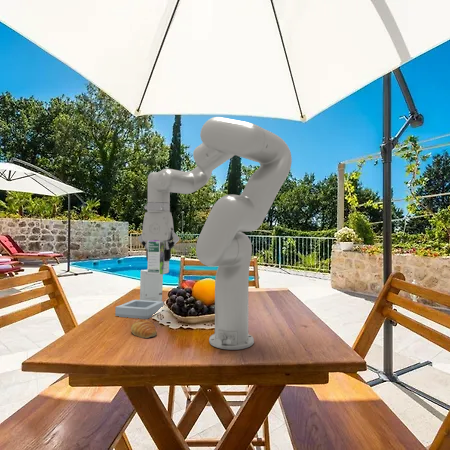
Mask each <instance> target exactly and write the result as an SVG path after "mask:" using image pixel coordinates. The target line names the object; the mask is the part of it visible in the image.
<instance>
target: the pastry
mask: <svg viewBox="0 0 450 450" xmlns="http://www.w3.org/2000/svg"><path fill="white" fill-rule="evenodd" d="M130 329H131V330H130V331H131V333H132V334H133V335H134V336H135V337H137V336H138V337H137V338H142V339H149V338H152V337H156V335H157V332H158V331H157V328H156V325H155V324H154V323H153V322H152V321H150V320H147V319H138V320H136V321H134V322H133V323H132V325H131V327H130Z"/></svg>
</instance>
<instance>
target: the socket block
mask: <svg viewBox="0 0 450 450" xmlns="http://www.w3.org/2000/svg"><path fill="white" fill-rule="evenodd" d="M164 305H165V301H163V300H162V301H147V300H140V299H132V300H129V301H128V302H124V303H123V304H119V305H116V306H115V315H114V316H119V317H118V318H127V317H128V318H129V319H138V318H139V319H138V320H141V319H143V320H149V319H151V318H152V315H153V314H155V313H156V312H157V311H158V310H159V309H160V308H161V307H163V306H164ZM128 318H127V319H128Z"/></svg>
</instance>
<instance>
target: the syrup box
mask: <svg viewBox="0 0 450 450" xmlns="http://www.w3.org/2000/svg"><path fill="white" fill-rule="evenodd" d="M165 249H166V248H165V245H164V241H159V240H148V261H147V268H146V270H147V274H160V275H163V276H164V275H165V274H168V273H169V272H170V261H164V250H165Z"/></svg>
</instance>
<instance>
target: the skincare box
mask: <svg viewBox="0 0 450 450" xmlns="http://www.w3.org/2000/svg"><path fill="white" fill-rule="evenodd" d="M163 277H164V274H163V275H160V274H147V269H141V270H140V281H139V282H140V283H139V284H140V285H139V300H147V301H162V302H163V282H164V281H163V280H164V278H163Z"/></svg>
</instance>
